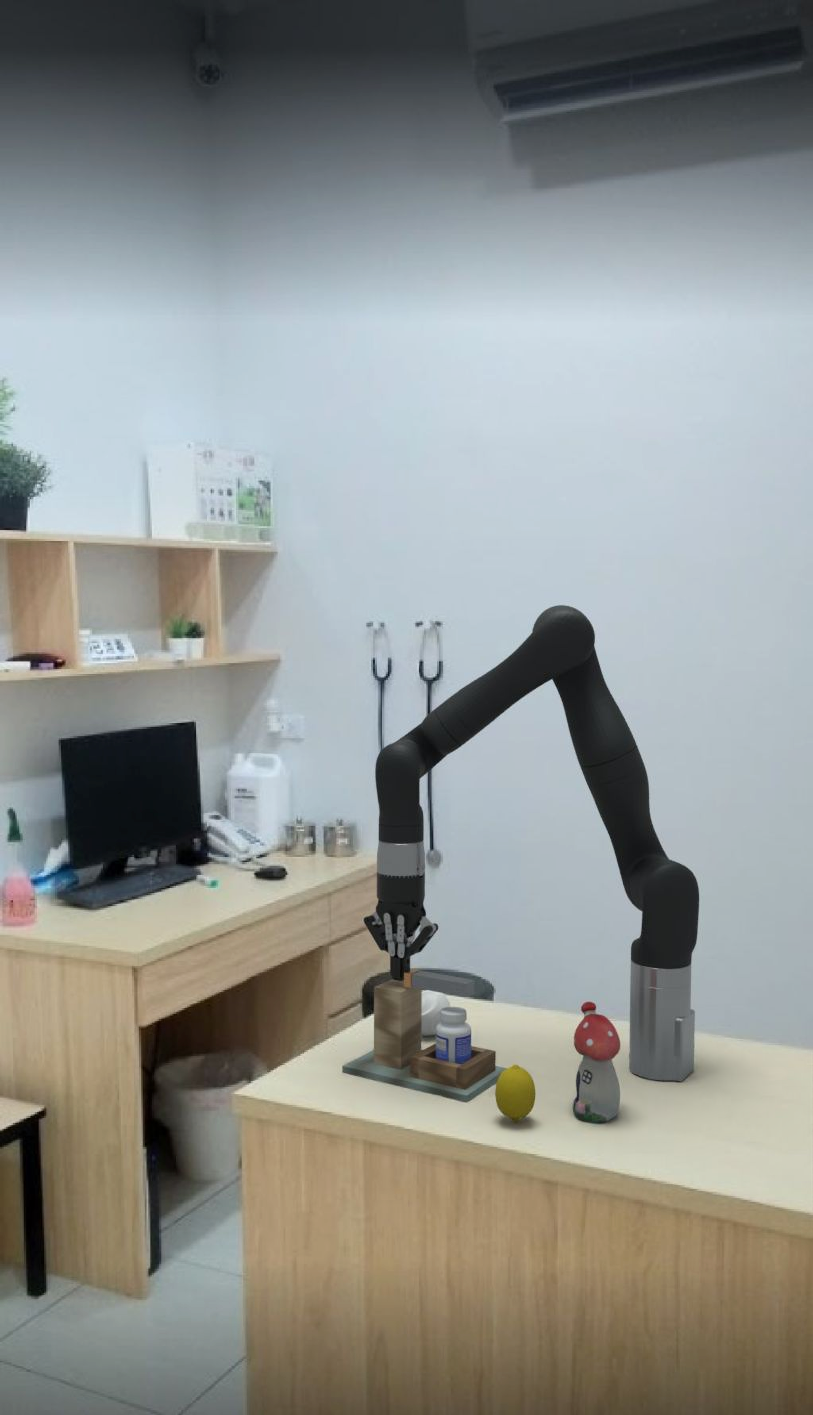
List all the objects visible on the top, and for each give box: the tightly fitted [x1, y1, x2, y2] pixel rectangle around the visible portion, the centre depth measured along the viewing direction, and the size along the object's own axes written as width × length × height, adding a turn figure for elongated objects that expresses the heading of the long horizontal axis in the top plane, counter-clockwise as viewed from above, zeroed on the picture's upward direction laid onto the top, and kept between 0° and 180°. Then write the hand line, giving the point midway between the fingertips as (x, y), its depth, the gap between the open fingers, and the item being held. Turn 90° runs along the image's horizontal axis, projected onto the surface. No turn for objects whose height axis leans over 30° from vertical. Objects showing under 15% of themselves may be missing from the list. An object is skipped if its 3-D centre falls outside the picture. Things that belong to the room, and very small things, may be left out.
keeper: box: [404, 968, 476, 998], centre depth 174 cm, size 11×3×2 cm, turn 58°
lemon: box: [494, 1064, 536, 1123], centre depth 158 cm, size 6×6×8 cm
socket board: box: [341, 978, 508, 1103], centre depth 176 cm, size 22×13×13 cm, turn 58°
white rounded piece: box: [421, 990, 451, 1037], centre depth 194 cm, size 8×8×8 cm
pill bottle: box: [435, 1006, 472, 1065], centre depth 173 cm, size 5×5×10 cm
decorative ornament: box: [572, 1001, 621, 1124], centre depth 161 cm, size 9×6×15 cm
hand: (400, 979), depth 178 cm, fingers closed
